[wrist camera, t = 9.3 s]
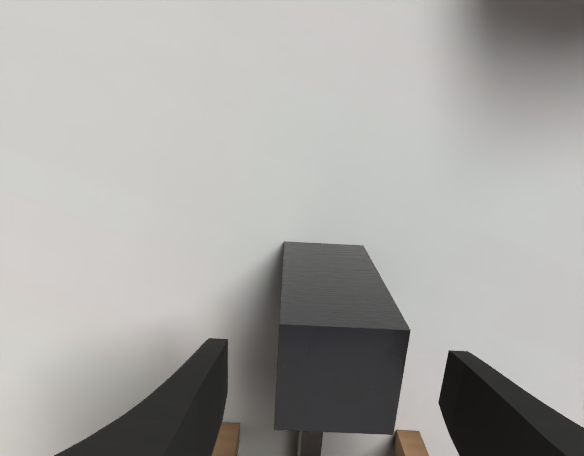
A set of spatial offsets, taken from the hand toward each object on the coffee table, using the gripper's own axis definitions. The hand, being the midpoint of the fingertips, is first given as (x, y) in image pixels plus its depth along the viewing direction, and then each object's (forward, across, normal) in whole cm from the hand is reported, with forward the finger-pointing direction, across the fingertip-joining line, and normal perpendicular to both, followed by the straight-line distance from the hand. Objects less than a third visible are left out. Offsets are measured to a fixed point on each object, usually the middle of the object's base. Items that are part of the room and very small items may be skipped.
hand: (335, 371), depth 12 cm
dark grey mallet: (+6, 0, +6) cm, 8 cm away
